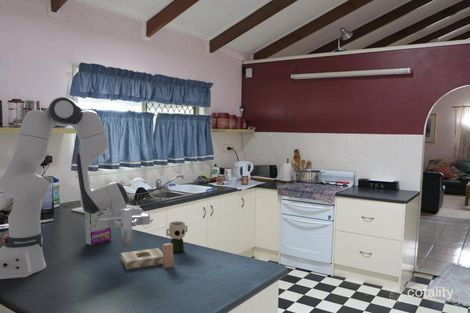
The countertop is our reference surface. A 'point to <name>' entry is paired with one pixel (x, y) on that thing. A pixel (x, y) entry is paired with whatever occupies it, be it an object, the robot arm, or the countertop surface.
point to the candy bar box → (96, 229)
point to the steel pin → (126, 227)
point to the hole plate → (142, 258)
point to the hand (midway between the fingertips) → (127, 224)
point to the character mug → (177, 235)
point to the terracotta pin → (168, 255)
